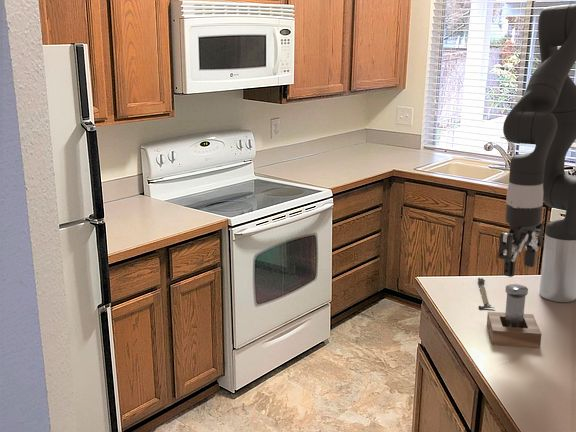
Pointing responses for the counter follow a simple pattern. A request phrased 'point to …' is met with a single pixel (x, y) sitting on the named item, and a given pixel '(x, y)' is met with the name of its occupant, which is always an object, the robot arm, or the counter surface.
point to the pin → (515, 305)
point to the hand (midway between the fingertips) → (519, 270)
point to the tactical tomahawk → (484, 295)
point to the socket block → (513, 331)
